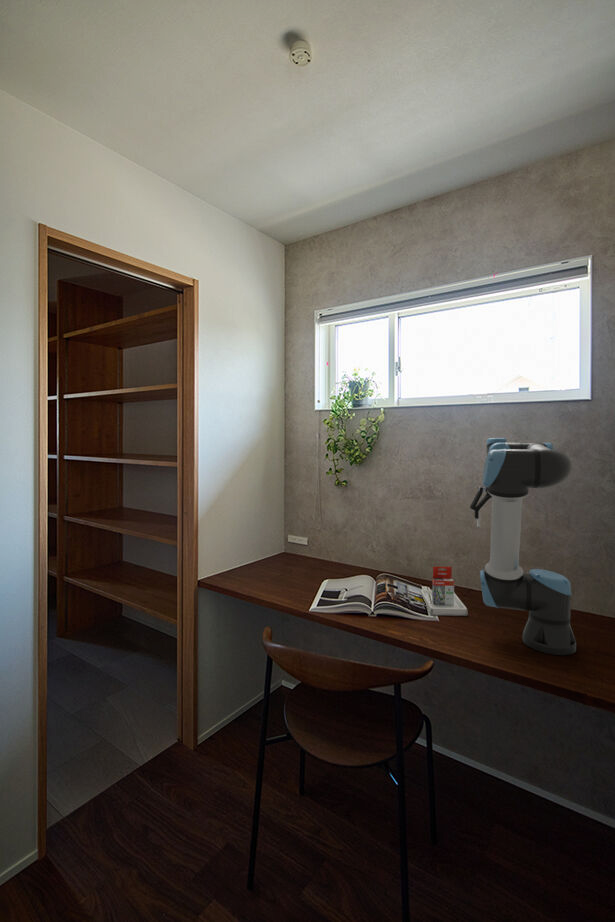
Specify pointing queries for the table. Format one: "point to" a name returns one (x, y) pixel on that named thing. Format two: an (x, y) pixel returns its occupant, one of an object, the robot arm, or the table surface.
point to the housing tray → (445, 606)
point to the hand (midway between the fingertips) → (495, 526)
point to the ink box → (442, 586)
